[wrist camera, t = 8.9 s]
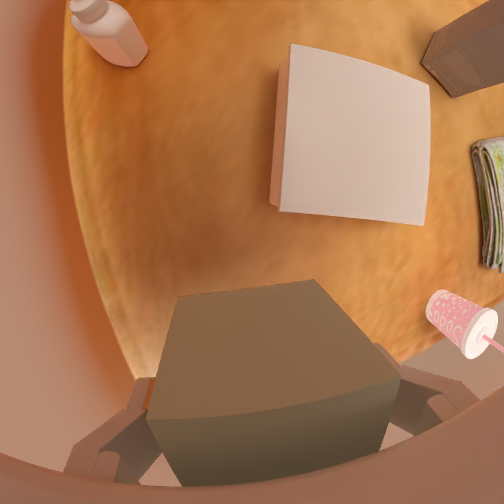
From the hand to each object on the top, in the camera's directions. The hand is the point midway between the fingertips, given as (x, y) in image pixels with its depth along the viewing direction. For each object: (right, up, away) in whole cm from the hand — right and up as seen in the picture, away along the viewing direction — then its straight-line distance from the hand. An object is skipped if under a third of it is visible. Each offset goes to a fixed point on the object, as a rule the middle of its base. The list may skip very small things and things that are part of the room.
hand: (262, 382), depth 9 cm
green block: (0, 0, +2) cm, 2 cm away
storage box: (+8, +15, +17) cm, 24 cm away
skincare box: (+24, +28, +16) cm, 40 cm away
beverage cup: (+24, -3, +23) cm, 33 cm away
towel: (+39, +13, +22) cm, 47 cm away
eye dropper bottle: (-13, +24, +12) cm, 30 cm away
